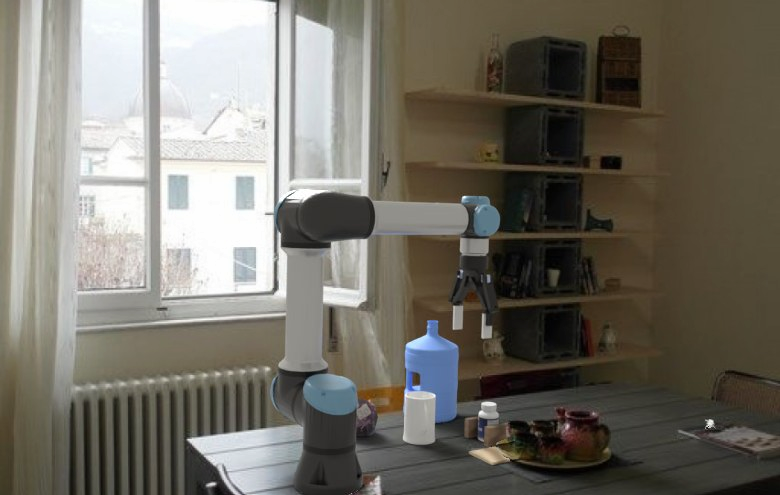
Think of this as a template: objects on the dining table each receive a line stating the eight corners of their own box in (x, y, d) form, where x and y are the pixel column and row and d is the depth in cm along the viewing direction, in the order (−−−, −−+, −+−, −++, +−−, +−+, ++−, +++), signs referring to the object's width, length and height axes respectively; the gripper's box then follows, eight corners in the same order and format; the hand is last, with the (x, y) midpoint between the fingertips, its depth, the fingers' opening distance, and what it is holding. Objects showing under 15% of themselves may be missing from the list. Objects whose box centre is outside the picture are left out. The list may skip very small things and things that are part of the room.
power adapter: (716, 432, 217) (716, 421, 217) (709, 432, 216) (709, 421, 216) (708, 428, 220) (708, 418, 220) (701, 429, 219) (701, 418, 219)
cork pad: (492, 465, 183) (492, 462, 183) (468, 453, 191) (468, 451, 191) (520, 459, 188) (520, 456, 188) (496, 448, 196) (496, 446, 196)
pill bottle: (474, 437, 204) (475, 401, 204) (492, 435, 206) (493, 400, 205) (482, 443, 199) (483, 406, 199) (501, 442, 201) (502, 405, 200)
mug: (440, 449, 194) (442, 402, 193) (407, 449, 193) (408, 402, 192) (431, 434, 206) (433, 390, 205) (400, 434, 205) (401, 390, 204)
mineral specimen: (334, 432, 199) (338, 394, 202) (344, 437, 208) (348, 400, 212) (370, 435, 197) (374, 396, 200) (379, 439, 206) (382, 402, 209)
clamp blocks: (487, 447, 196) (488, 428, 196) (464, 436, 205) (464, 418, 204) (514, 442, 201) (515, 423, 201) (490, 431, 210) (491, 413, 209)
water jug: (457, 410, 230) (461, 318, 228) (455, 425, 214) (458, 327, 212) (406, 406, 232) (409, 315, 230) (399, 421, 216) (402, 324, 214)
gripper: (514, 258, 193) (511, 341, 194) (460, 250, 215) (457, 325, 216) (490, 258, 189) (487, 343, 191) (437, 250, 211) (435, 326, 213)
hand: (471, 333), depth 204 cm, fingers open, 13 cm apart
